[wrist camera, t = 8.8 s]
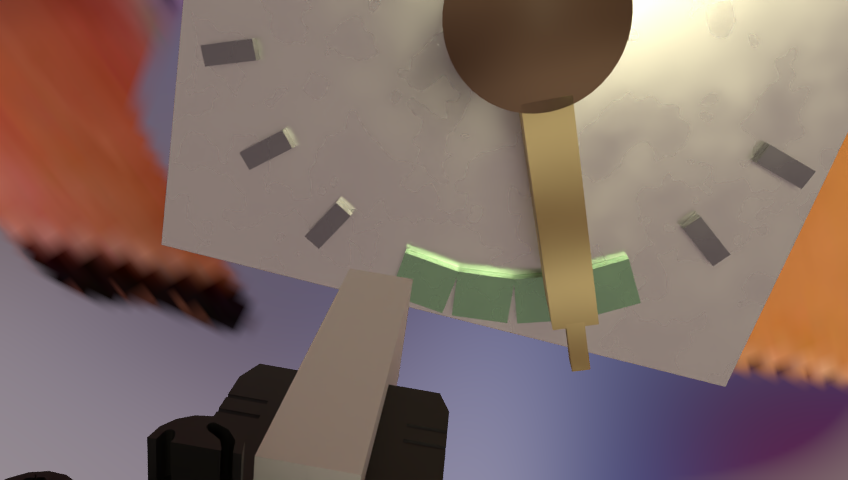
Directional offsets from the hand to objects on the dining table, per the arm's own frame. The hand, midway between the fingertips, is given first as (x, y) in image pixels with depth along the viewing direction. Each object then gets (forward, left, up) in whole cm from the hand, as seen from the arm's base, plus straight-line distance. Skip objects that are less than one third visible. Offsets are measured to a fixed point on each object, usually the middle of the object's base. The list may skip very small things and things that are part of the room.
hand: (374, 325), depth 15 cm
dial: (-2, +5, -16) cm, 17 cm away
